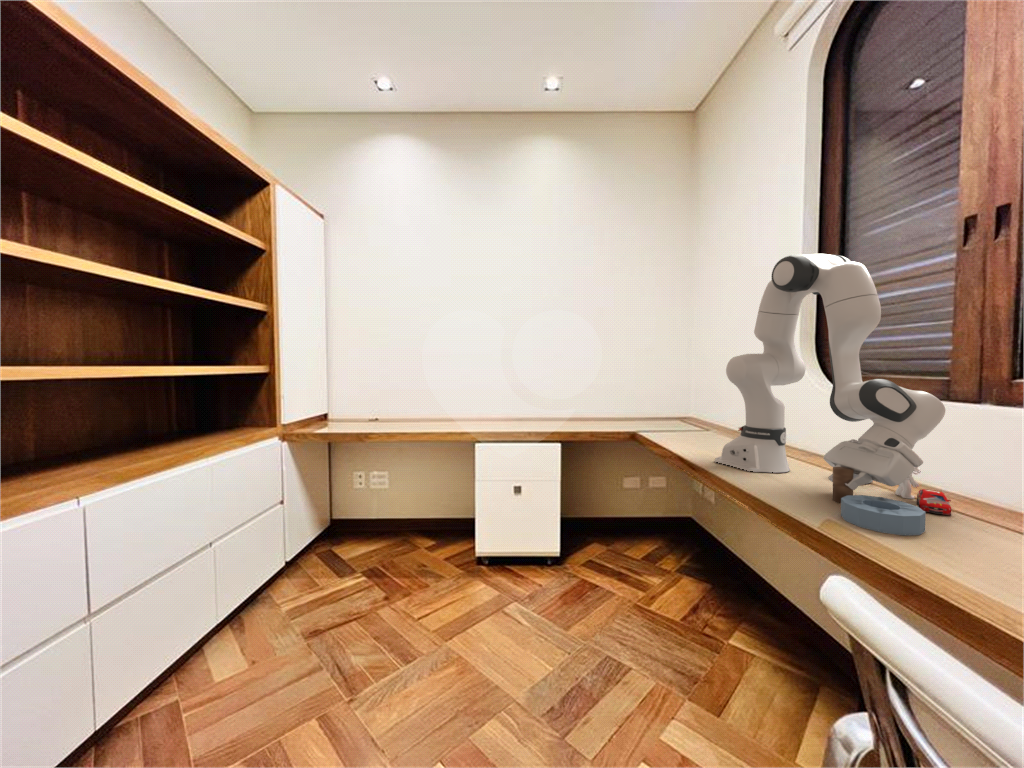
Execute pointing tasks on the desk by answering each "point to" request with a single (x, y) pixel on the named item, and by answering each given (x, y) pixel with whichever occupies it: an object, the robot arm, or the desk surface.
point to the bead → (883, 514)
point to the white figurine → (907, 486)
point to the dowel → (841, 482)
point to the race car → (933, 502)
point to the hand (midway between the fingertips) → (840, 484)
